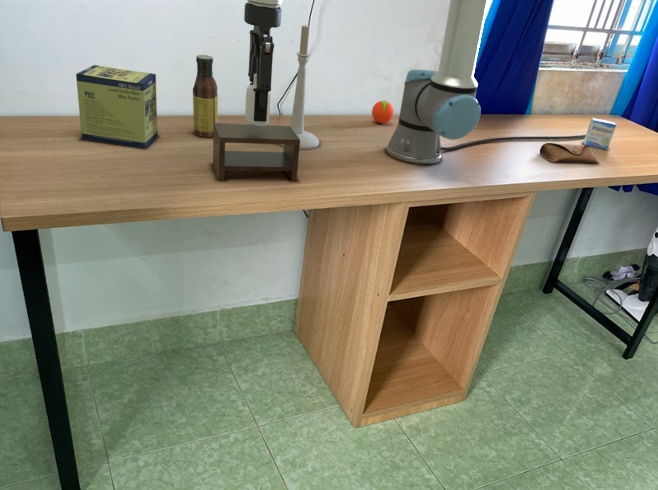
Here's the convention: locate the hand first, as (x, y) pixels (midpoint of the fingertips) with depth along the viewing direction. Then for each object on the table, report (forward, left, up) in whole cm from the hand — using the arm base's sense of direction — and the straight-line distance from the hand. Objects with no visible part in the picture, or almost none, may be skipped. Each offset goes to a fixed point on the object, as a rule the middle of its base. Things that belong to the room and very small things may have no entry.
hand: (257, 116), depth 138 cm
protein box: (+29, -22, -14) cm, 39 cm away
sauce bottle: (+8, -27, -14) cm, 31 cm away
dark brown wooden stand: (0, 0, -13) cm, 13 cm away
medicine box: (-123, -29, -14) cm, 127 cm away
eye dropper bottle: (0, 0, -2) cm, 2 cm away
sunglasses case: (-102, -15, -14) cm, 104 cm away
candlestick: (-16, -24, -14) cm, 32 cm away
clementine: (-49, -44, -14) cm, 67 cm away
